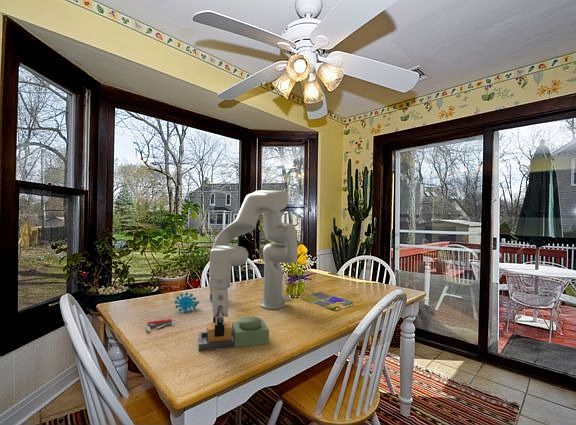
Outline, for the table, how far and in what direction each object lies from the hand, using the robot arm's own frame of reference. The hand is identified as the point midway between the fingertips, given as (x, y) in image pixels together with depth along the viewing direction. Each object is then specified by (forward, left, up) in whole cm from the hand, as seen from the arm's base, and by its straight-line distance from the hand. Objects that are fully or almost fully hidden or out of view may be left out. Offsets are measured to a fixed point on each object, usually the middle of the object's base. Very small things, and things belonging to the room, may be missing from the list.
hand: (218, 330), depth 103 cm
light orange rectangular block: (0, 0, -3) cm, 3 cm away
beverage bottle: (-3, -51, -5) cm, 51 cm away
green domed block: (-11, 0, -4) cm, 12 cm away
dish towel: (-60, -36, -5) cm, 70 cm away
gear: (+12, -37, -5) cm, 39 cm away
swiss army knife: (+21, -21, -5) cm, 30 cm away
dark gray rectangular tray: (+1, 0, -4) cm, 4 cm away
